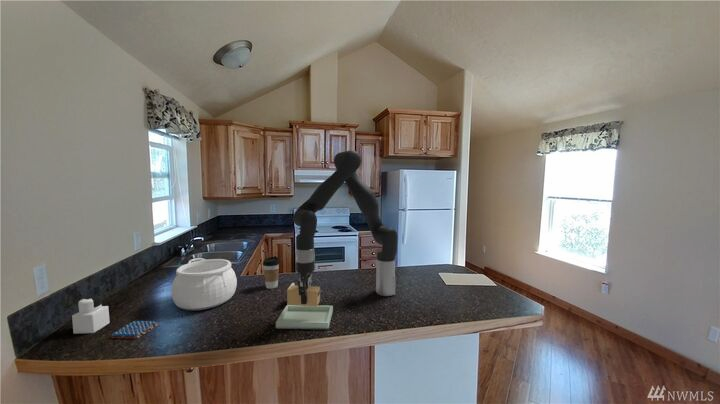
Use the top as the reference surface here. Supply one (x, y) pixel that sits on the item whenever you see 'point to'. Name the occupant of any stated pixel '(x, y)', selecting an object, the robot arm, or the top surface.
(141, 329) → the woven mat
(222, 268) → the pot
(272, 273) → the coffee cup
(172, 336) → the top surface
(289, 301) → the box with top handle
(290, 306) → the tray
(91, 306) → the white knobbed block
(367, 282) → the top surface
